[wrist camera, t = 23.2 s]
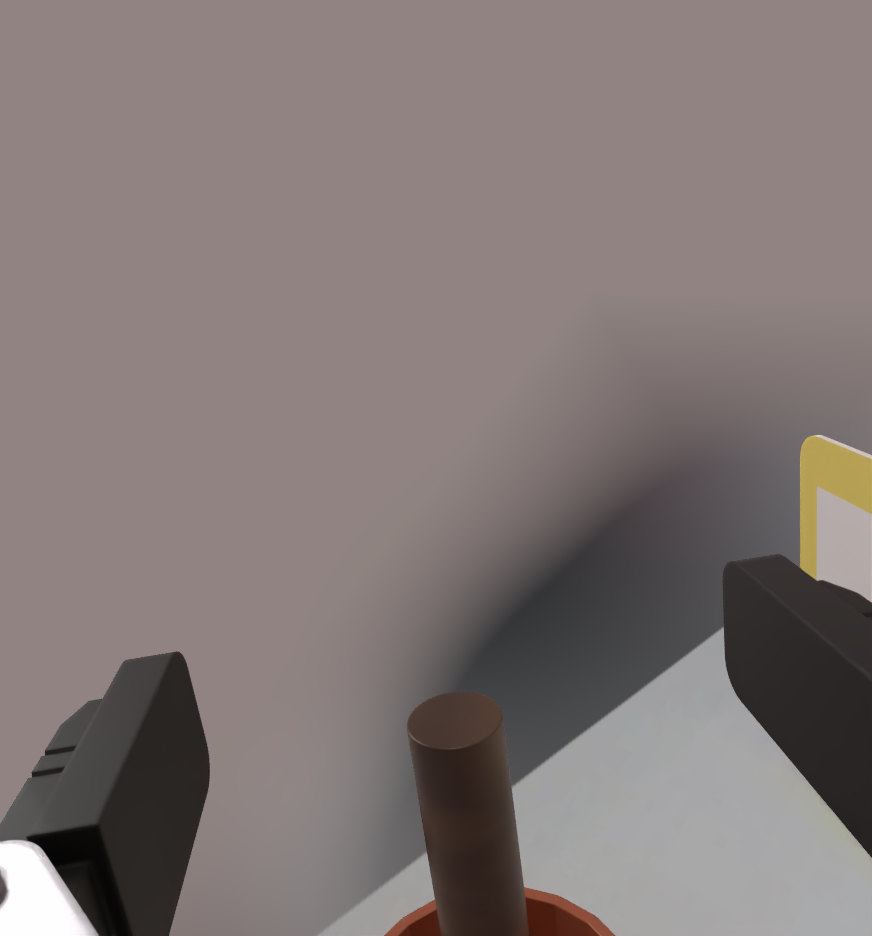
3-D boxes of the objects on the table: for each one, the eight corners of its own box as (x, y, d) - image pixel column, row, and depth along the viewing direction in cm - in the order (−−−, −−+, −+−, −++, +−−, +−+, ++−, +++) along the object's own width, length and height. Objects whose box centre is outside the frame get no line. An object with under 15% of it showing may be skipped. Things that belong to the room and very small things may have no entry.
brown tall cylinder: (456, 1170, 27) (386, 776, 22) (442, 1044, 31) (381, 691, 27) (582, 1144, 27) (539, 749, 23) (552, 1023, 31) (510, 669, 27)
